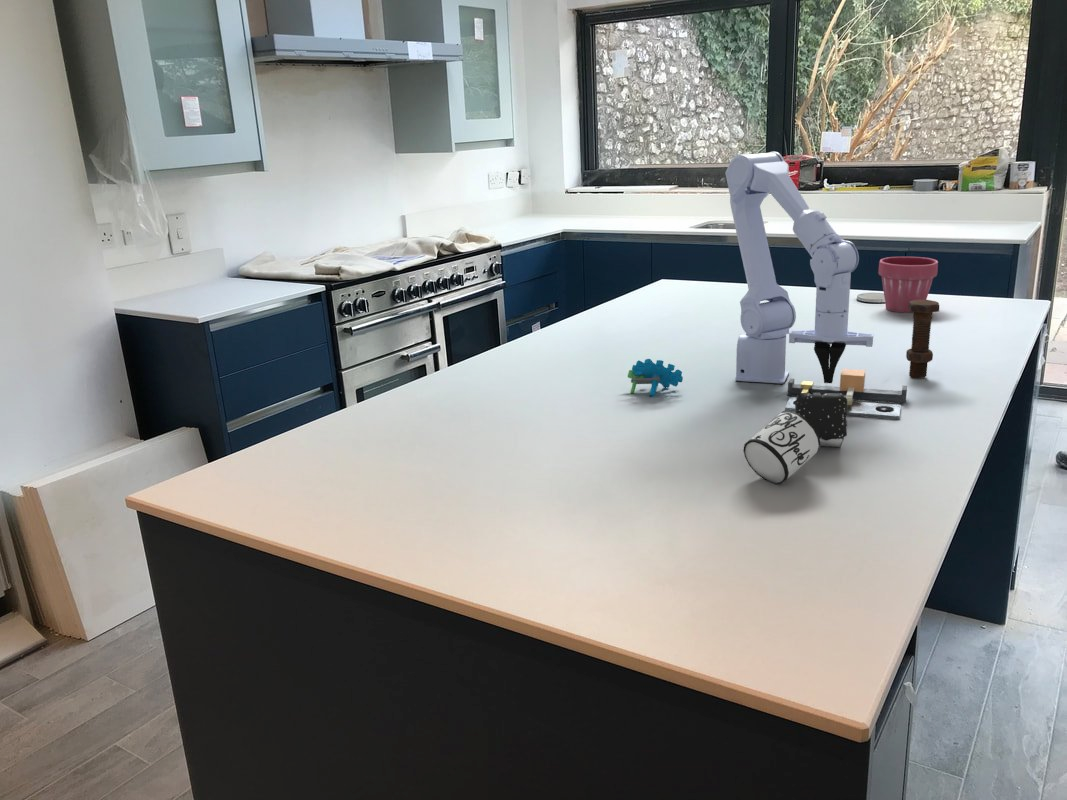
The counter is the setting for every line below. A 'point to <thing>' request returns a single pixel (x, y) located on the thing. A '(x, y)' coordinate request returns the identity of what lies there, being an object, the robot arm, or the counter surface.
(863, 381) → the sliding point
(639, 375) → the blue stegosaurus toy
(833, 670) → the counter surface
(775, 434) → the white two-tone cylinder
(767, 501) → the counter surface
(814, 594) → the counter surface
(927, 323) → the bolt
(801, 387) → the rail
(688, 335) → the counter surface
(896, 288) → the plant pot
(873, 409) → the hole plate
